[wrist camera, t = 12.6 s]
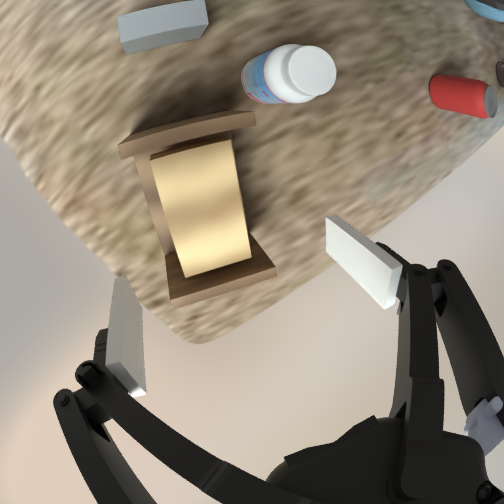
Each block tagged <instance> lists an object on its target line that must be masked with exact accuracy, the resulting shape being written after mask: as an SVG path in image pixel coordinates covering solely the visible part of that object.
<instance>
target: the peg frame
mask: <svg viewBox="0 0 504 504" xmlns="http://www.w3.org/2000/svg"><path fill="white" fill-rule="evenodd" d="M255 125H256V121H255V114H254V111H221V112H216V113H211V114H206V115H202V116H197V117H193V118H189V119H185V120H181V121H177V122H173V123H169V124H165V125H162V126H158V127H155V128H151V129H148V130H144V131H141V132H138V133H135V134H132V135H129V136H128V137H127V138H126V139H124V140H123V141H122V142H121V143H120V144H118V145H117V146H118V150H119V154H120V158H121V160H122V159H125V158H128V157H131V156H134V159H135V162H136V166H137V170H138V173H139V177H140V180H141V184H142V187H143V190H144V194H145V197H146V200H147V204H148V207H149V210H150V213H151V216H152V219H153V222H154V226H155V229H156V232H157V235H158V238H159V240H160V243H161V246H162V249H163V252H164V255H165V261H166V270H167V279H168V286H169V294H170V301H171V303H172V305H173V307H174V309H176V308H180V307H183V306H186V305H189V304H193V303H196V302H199V301H202V300H206V299H209V298H212V297H215V296H218V295H221V294H225V293H228V292H231V291H234V290H237V289H240V288H243V287H246V286H249V285H252V284H255V283H258V282H261V281H265V280H268V279H271V278H273V277H276V276H277V273H276V267H275V265H274V264H273V263H272V261H271V260H270V259H269V257H268V256H267V255H266V253H265V252H264V251H263V249H262V248H261V247H260V245H259V244H258V243H257V241H256V240H255V239H254V237H253V236H252V235H251V233H250V232H249V231H248V225H247V219H246V213H245V208H244V202H243V196H242V191H241V185H240V179H239V174H238V168H237V162H236V156H235V151H234V145H233V139H232V134H231V130H234V129H239V128H244V127H250V126H255ZM220 136H223V137H225V138H228V139H230V140H231V144H232V150H233V155H234V161H235V167H236V172H237V178H238V183H239V189H240V195H241V200H242V206H243V211H244V217H245V223H246V228H247V234H248V240H249V245H250V251H251V256H252V257H251V258H248V259H245V260H242V261H238V262H235V263H232V264H229V265H225V266H222V267H219V268H216V269H212V270H209V271H206V272H203V273H200V274H196V275H193V276H190V277H187V278H185V275H184V272H183V269H182V266H181V263H180V260H179V257H178V254H177V251H176V248H175V245H174V242H173V239H172V236H171V233H170V230H169V226H168V223H167V220H166V217H165V213H164V210H163V206H162V203H161V200H160V196H159V193H158V189H157V186H156V182H155V178H154V175H153V171H152V167H151V163H150V156H151V154H154V153H158V152H161V151H165V150H168V149H172V148H175V147H179V146H183V145H187V144H190V143H194V142H198V141H203V140H207V139H211V138H215V137H220Z"/></svg>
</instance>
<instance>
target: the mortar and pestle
mask: <svg viewBox="0 0 504 504" xmlns="http://www.w3.org/2000/svg"><path fill="white" fill-rule="evenodd" d="M496 72H497V78H498V81H499V83H500V85H501V87H504V64H503V63H500V62H498V64H497V66H496Z"/></svg>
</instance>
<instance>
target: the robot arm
mask: <svg viewBox="0 0 504 504" xmlns="http://www.w3.org/2000/svg"><path fill="white" fill-rule="evenodd" d="M464 1H465V3H466V4H467V6H468V7H469V8H470V9H472V10H473V11H474V12H475V13H477V14H479V15H481V16H483V17H486V18H488V19H492V20H495V21H499V22H504V0H464ZM326 252H327V253H328V254H329V255H330V256H331V257H332V258H333V259H334V260H335V261H336V262H337V263H339V265H341V267H342V268H344V270H346V271H347V272H348V273H349V274H350V275H351V276H352V277H353V278H354V279H355V280H356V281H357V282H358V283H359V284H360V285H361V286H362V287H363V288H364V289H365V290H366V291H367V292H368V293H369V295H371V296H372V297H373V299H375V301H376V302H377V303H378V304H379V305H380V306H381V307H382V308H383V309H386V308H388V307H390V306H392V305H394V303H395V298H396V297H398V298H399V299H400V303H399V307H398V310H397V314H399V335H398V355H397V368H396V379H395V388H394V397H393V405H392V408H391V411H390V414H389V417H386V418H379V419H376V417H375V416H374V415H373V416H371V417H369V418H367V419H366V420H364V421H362V422H360V423H358V424H356V425H355V426H353V427H352V428H351V429H350V430H348V431H347V432H346V433H345V434H344V435H343V436H341V437H340V438H339V439H338V440H336V441H335V442H333V443H329V444H324V445H319V446H314V447H309V448H305V449H303V450H301V451H298V452H295V453H293V454H290V455H288V456H285V457H284V460H285V461H284V462H283V463H281V464H280V465H279V466H277V467H276V468H275V469H274V470H273V471H272V472H271V473H270V475H269V476H268V478H267V479H266V481H264V480H261V479H259V478H257V477H255V476H253V475H251V474H249V473H247V472H245V471H243V470H241V469H240V468H237V467H236V466H234V465H232V464H230V463H228V462H226V461H222V460H221V459H219V458H217V457H215V456H214V455H212V454H210V453H208V452H207V451H205V450H204V449H202V448H201V447H199V446H197V445H196V444H194V443H193V442H191V441H190V440H188V439H187V438H185V437H184V436H182V435H181V434H179V433H178V432H176V431H175V430H174V429H172V428H171V427H169V426H168V425H167V424H165V423H164V422H163V421H161V420H160V419H159V418H157V417H156V416H155V415H153V414H152V413H151V412H149V411H148V410H147V409H146V408H144V407H143V406H142V405H141V404H140V403H138V402H137V401H136V400H135V399H133V398H132V397H131V396H130V395H129V394H128V392H129V393H130V394H131V395H132V396H133V397H136V396H140V395H145V394H147V393H146V382H145V368H144V351H143V324H142V322H143V321H142V307H141V305H140V303H139V301H138V299H137V297H136V295H135V293H134V291H133V289H132V287H131V285H130V283H129V281H128V279H127V276H123V277H120V278H116V279H115V282H114V288H113V295H112V303H111V311H110V318H109V327H108V328H106V329H102V330H100V331H99V333H98V335H97V337H96V341H95V349H94V352H95V353H94V358H93V360H88V361H85V362H83V363H81V364H80V365H79V367H78V368H77V370H76V372H75V377H76V380H77V382H78V383H79V384H80V385H81V386H82V387H83V388H81V389H79V390H77V391H76V392H72V391H71V390H69V389H62V390H60V391H59V392H57V393H56V395H55V397H54V400H53V404H54V408H55V411H56V414H57V417H58V420H59V423H60V425H61V428H62V431H63V433H64V436H65V438H66V441H67V443H68V446H69V448H70V450H71V453H72V455H73V457H74V459H75V461H76V463H77V465H78V468H79V470H80V472H81V474H82V476H83V477H84V480H85V481H86V483H87V485H88V487H89V489H90V491H91V492H92V494H93V496H94V498H95V499H96V501H97V503H98V504H157V503H156V502H155V501H154V499H153V498H152V497H151V495H150V494H149V493H148V492H147V490H146V489H145V488H144V486H143V485H142V483H141V482H140V481H139V479H138V478H137V477H136V475H135V474H134V472H133V471H132V469H131V468H130V466H129V465H128V463H127V462H126V460H125V459H124V457H123V456H122V454H121V452H120V451H119V449H118V448H117V446H116V444H115V443H114V441H113V439H112V437H111V436H110V434H109V432H108V430H107V429H106V427H105V425H104V423H105V422H106V421H108V420H110V419H112V418H113V419H114V420H115V421H116V422H117V423H118V424H119V425H120V426H121V427H122V428H123V429H124V430H125V431H126V432H127V433H128V434H130V435H131V436H132V437H133V438H134V439H135V440H136V441H137V442H139V443H140V444H141V445H142V446H143V447H144V448H145V449H147V450H148V451H149V452H150V453H151V454H153V455H154V456H155V457H156V458H158V459H159V460H160V461H162V462H163V463H164V464H165V465H167V466H168V467H169V468H171V469H172V470H173V471H175V472H176V473H178V474H179V475H180V476H182V477H183V478H184V479H186V480H187V481H189V482H190V483H192V484H193V485H195V486H196V487H198V488H199V489H200V490H201V491H203V492H204V493H206V494H207V495H209V496H210V497H212V498H214V499H215V500H217V501H219V502H220V503H222V504H504V492H502V491H501V490H499V489H498V488H497V487H495V486H494V485H493V484H492V483H491V482H490V481H489V479H488V476H487V472H486V467H485V456H486V455H487V454H488V453H489V452H491V451H492V450H493V449H494V448H495V447H496V446H497V445H498V444H499V443H500V442H501V441H502V440H504V357H503V355H502V352H501V350H500V347H499V345H498V343H497V341H496V338H495V336H494V334H493V332H492V330H491V327H490V325H489V323H488V321H487V319H486V317H485V315H484V313H483V311H482V310H481V307H480V306H479V304H478V302H477V300H476V298H475V296H474V295H473V293H472V291H471V289H470V287H469V286H468V284H467V282H466V281H465V279H464V277H463V276H462V274H461V272H460V271H459V269H458V267H457V266H456V265H455V264H454V263H453V262H452V261H450V260H445V259H443V260H440V261H438V264H437V267H436V268H431V269H427V268H426V267H425V266H423V265H420V264H410V263H409V262H407V261H406V260H405V259H403V258H402V257H401V256H400V255H398V254H396V252H394V251H393V250H391V248H389V247H388V246H387V245H385V244H382V243H379V242H376V243H374V242H373V241H371V240H370V239H369V238H367V237H366V236H365V235H363V234H362V233H361V232H359V231H358V230H357V229H355V228H354V227H353V226H351V225H350V224H348V223H347V222H346V221H344V220H343V219H342V218H340V217H339V216H337V215H336V214H334V215H331V216H327V217H326ZM436 323H437V325H438V328H439V331H440V333H441V336H442V339H443V342H444V345H445V348H446V351H447V354H448V357H449V360H450V363H451V366H452V369H453V373H454V376H455V380H456V384H457V387H458V391H459V395H460V399H461V402H462V406H463V409H464V411H465V414H466V416H467V420H466V426H465V428H464V431H465V433H466V434H467V435H468V436H464V435H459V434H455V433H451V432H447V431H443V421H444V381H443V379H440V378H439V356H438V340H437V327H436Z"/></svg>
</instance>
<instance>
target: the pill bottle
mask: <svg viewBox="0 0 504 504" xmlns="http://www.w3.org/2000/svg"><path fill="white" fill-rule="evenodd" d="M335 80H336V67H335V64H334V61H333V59H332V58H331V56H330V55H329V54H328V53H327V52H326V51H324V50H323V49H321V48H319V47H316V46H302V45H297V44H287V45H283V46H280V47H277V48H275V49H273V50H270V51H268V52H265V53H263V54H261V55H259V56H257V57H254V58H253V59H251V60H249V61H248V62H247V63H246V64H245V66H244V67H243V70H242V73H241V82H242V86H243V89H244V91H245V92H246V94H247V95H248V96H249V97H250V98H251V99H253V100H255V101H257V102H259V103H265V104H273V103H303V102H307V101H309V100H311V99H313V98H314V97H316V96H317V95H322V94H324V93H326V92H328V91H329V90H330V89H331V88H332V87H333V85H334V83H335Z"/></svg>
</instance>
